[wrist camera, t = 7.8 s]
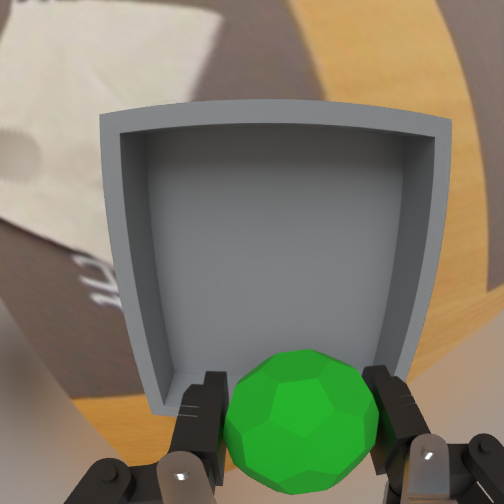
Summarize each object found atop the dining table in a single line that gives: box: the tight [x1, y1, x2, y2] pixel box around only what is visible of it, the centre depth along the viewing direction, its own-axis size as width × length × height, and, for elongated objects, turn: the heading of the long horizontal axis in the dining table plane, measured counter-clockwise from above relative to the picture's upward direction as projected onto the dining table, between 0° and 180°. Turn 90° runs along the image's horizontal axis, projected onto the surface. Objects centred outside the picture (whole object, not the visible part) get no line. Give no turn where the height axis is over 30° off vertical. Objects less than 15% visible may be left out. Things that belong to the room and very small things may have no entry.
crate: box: [100, 99, 452, 417], centre depth 20 cm, size 19×21×5 cm
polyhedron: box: [223, 349, 379, 495], centre depth 9 cm, size 5×5×5 cm
